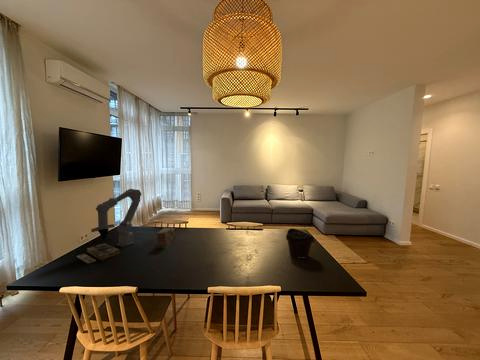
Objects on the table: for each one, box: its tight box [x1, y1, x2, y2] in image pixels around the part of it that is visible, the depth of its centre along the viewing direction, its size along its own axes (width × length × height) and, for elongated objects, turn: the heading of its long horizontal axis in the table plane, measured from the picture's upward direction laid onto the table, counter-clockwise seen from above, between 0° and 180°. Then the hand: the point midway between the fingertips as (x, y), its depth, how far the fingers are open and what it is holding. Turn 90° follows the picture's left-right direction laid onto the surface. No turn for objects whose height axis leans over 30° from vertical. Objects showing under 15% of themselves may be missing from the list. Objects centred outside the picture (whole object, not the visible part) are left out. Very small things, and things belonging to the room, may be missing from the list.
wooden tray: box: [86, 242, 120, 261], centre depth 150 cm, size 12×20×3 cm, turn 57°
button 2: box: [99, 243, 107, 251], centre depth 150 cm, size 4×4×3 cm
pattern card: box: [76, 253, 97, 264], centre depth 142 cm, size 5×17×1 cm, turn 57°
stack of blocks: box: [156, 227, 176, 250], centre depth 171 cm, size 21×6×12 cm, turn 177°
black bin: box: [285, 228, 315, 260], centre depth 154 cm, size 18×20×18 cm
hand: (103, 239), depth 153 cm, fingers closed
